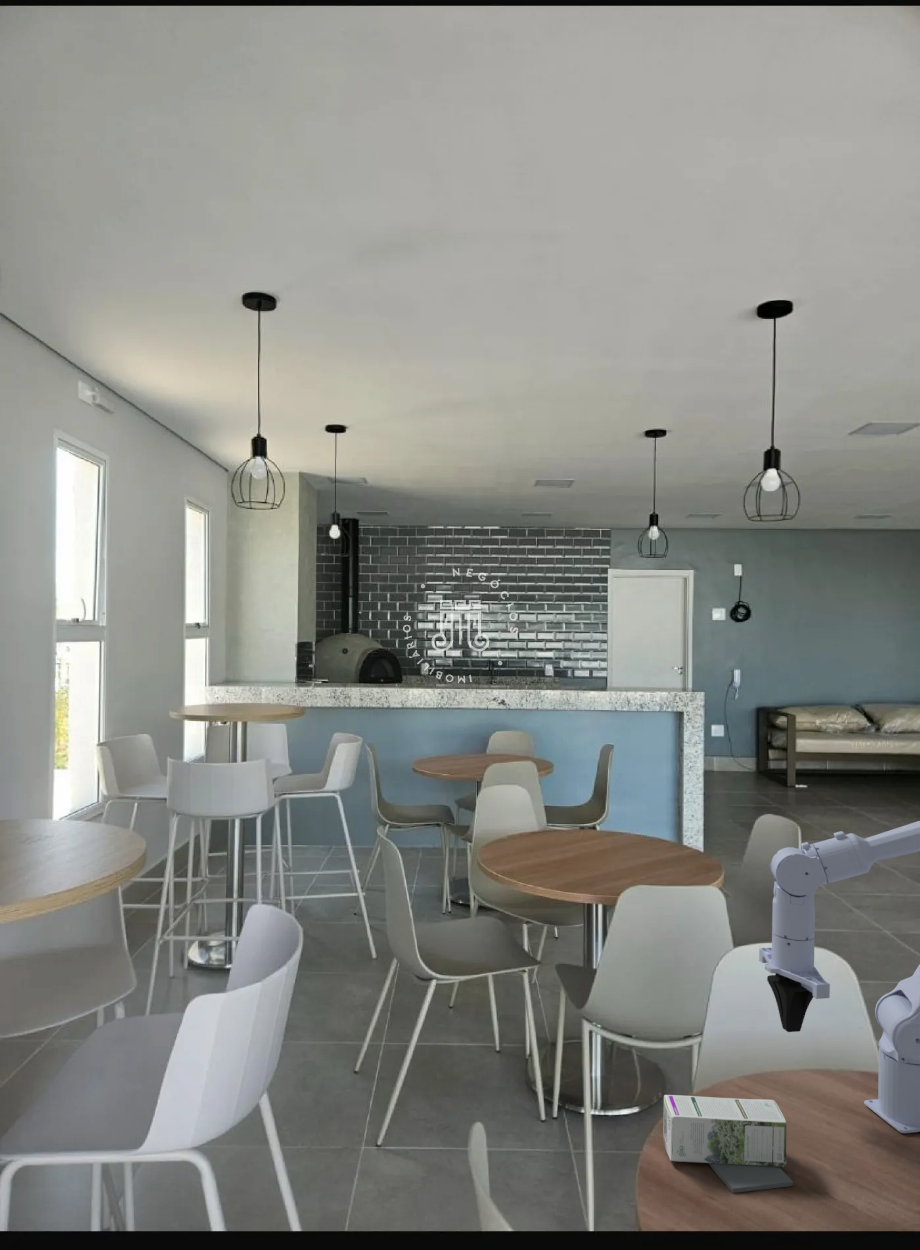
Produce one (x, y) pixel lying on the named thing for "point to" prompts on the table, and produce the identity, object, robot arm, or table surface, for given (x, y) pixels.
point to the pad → (751, 1177)
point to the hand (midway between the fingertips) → (791, 1029)
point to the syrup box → (724, 1130)
